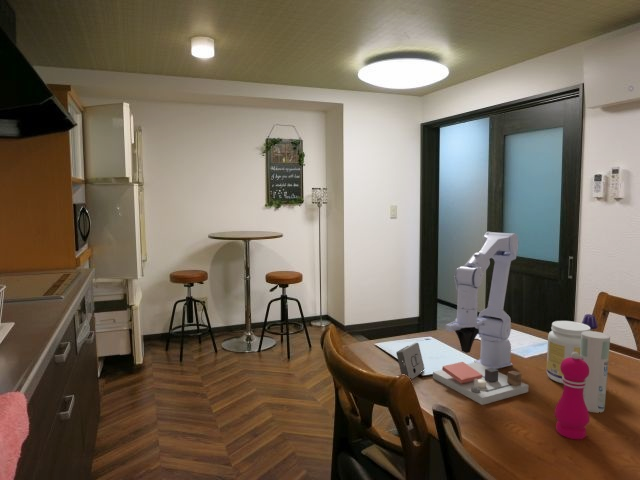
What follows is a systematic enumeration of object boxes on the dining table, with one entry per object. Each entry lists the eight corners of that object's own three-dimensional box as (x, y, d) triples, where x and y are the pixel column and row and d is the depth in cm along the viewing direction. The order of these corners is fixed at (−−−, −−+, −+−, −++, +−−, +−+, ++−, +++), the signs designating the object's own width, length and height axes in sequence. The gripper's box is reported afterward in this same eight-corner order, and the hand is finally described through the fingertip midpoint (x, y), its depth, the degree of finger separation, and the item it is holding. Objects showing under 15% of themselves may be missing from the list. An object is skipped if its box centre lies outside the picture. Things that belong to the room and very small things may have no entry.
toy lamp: (594, 367, 151) (597, 317, 149) (577, 364, 154) (581, 315, 152) (595, 363, 155) (599, 314, 153) (580, 360, 157) (583, 312, 156)
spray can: (604, 415, 119) (610, 340, 117) (576, 409, 122) (580, 335, 120) (605, 405, 124) (610, 333, 122) (577, 399, 128) (582, 329, 126)
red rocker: (462, 365, 142) (462, 361, 141) (481, 378, 135) (482, 374, 135) (442, 369, 138) (442, 366, 138) (461, 383, 131) (461, 379, 131)
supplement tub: (588, 374, 145) (592, 322, 143) (593, 390, 134) (596, 333, 132) (545, 368, 150) (548, 317, 148) (546, 382, 139) (549, 328, 137)
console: (475, 368, 150) (476, 351, 150) (528, 391, 133) (529, 373, 132) (432, 378, 142) (433, 360, 142) (482, 405, 124) (483, 384, 124)
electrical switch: (411, 380, 141) (409, 350, 140) (396, 377, 144) (394, 348, 143) (425, 371, 148) (423, 342, 147) (410, 368, 151) (408, 341, 151)
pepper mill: (547, 425, 114) (552, 347, 111) (575, 424, 114) (580, 346, 112) (565, 441, 106) (570, 358, 104) (595, 440, 107) (600, 357, 105)
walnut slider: (512, 381, 135) (513, 370, 135) (521, 384, 132) (521, 373, 132) (507, 382, 134) (507, 372, 134) (515, 386, 131) (515, 375, 131)
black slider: (491, 377, 137) (492, 367, 137) (498, 380, 135) (498, 370, 135) (484, 379, 136) (485, 369, 136) (491, 382, 134) (491, 372, 134)
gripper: (475, 301, 143) (473, 343, 144) (439, 307, 136) (437, 351, 137) (493, 306, 136) (491, 350, 138) (456, 312, 130) (454, 359, 131)
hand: (465, 351), depth 137 cm, fingers closed
